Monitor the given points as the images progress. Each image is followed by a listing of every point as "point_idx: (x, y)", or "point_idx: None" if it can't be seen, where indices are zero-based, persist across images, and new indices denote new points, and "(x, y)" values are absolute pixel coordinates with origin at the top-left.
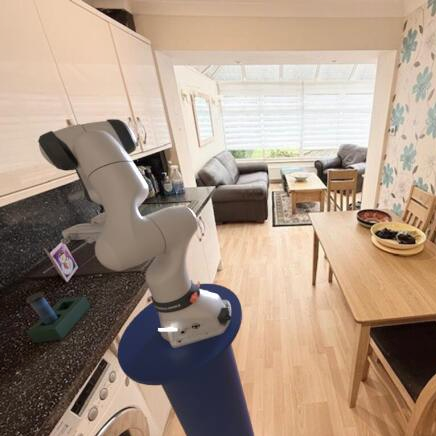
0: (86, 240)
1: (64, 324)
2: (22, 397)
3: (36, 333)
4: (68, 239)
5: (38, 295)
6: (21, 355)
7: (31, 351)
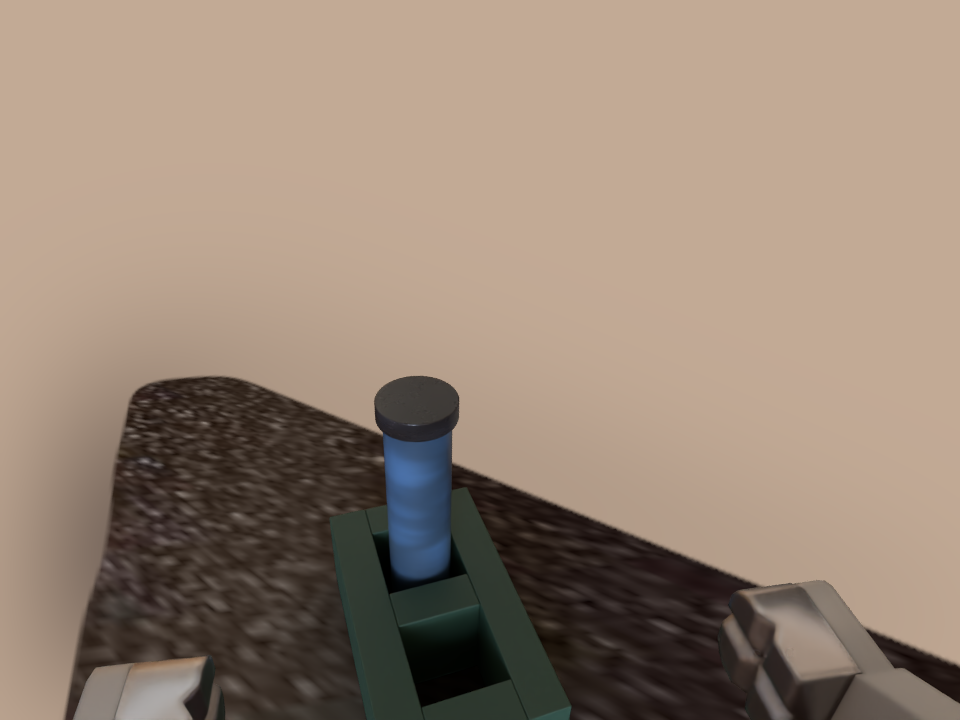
0: (173, 663)
1: (340, 579)
2: (269, 418)
3: None
4: (774, 684)
5: (395, 404)
6: None
7: None
